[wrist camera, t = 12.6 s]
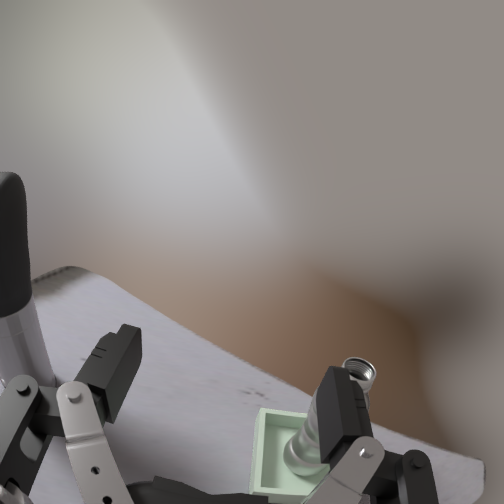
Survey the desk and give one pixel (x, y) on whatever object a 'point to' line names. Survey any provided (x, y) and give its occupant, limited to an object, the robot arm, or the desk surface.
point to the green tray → (278, 459)
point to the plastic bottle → (307, 438)
